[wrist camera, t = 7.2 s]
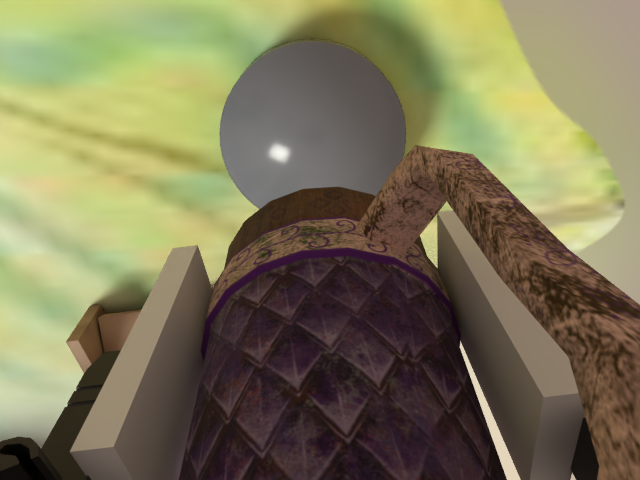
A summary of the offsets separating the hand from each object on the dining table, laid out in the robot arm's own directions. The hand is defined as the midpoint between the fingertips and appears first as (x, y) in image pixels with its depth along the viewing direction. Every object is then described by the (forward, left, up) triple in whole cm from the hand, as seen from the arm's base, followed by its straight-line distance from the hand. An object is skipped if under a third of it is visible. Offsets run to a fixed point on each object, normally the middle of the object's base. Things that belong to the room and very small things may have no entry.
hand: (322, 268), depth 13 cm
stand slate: (0, 0, -14) cm, 14 cm away
